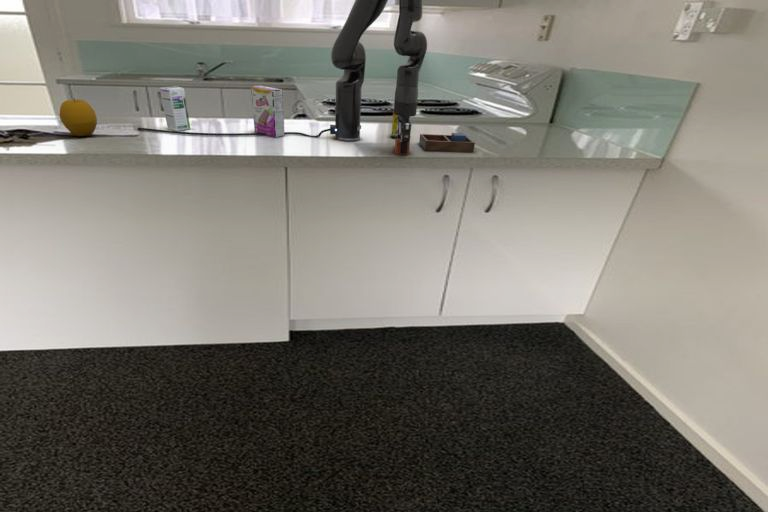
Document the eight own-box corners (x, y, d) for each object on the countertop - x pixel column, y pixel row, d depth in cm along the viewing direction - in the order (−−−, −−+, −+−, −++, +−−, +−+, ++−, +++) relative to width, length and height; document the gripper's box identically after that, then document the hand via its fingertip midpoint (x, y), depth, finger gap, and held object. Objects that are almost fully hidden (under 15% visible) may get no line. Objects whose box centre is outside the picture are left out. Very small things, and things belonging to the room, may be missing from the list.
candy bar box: (253, 132, 157) (249, 86, 149) (263, 131, 161) (260, 85, 153) (275, 138, 152) (272, 89, 144) (285, 136, 156) (283, 88, 148)
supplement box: (406, 139, 163) (408, 110, 158) (391, 137, 164) (393, 108, 159) (408, 136, 169) (410, 108, 164) (393, 134, 170) (395, 106, 164)
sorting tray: (424, 150, 149) (425, 140, 148) (419, 143, 159) (420, 133, 157) (473, 152, 152) (475, 142, 150) (464, 145, 161) (466, 135, 160)
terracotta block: (396, 154, 143) (397, 141, 141) (394, 150, 147) (395, 138, 145) (408, 154, 144) (409, 141, 141) (406, 151, 147) (407, 138, 145)
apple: (80, 141, 132) (70, 101, 127) (57, 137, 135) (46, 98, 129) (107, 135, 140) (98, 98, 135) (85, 131, 143) (76, 95, 137)
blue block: (453, 147, 153) (454, 135, 151) (450, 144, 157) (451, 132, 155) (464, 147, 154) (466, 135, 152) (461, 145, 158) (463, 133, 156)
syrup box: (176, 131, 151) (169, 88, 144) (166, 128, 154) (159, 86, 147) (190, 129, 156) (184, 87, 149) (181, 126, 158) (174, 85, 151)
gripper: (391, 96, 143) (388, 145, 151) (397, 102, 130) (393, 155, 138) (413, 97, 144) (408, 145, 152) (421, 103, 131) (416, 156, 139)
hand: (401, 150), depth 145 cm, fingers open, 6 cm apart
